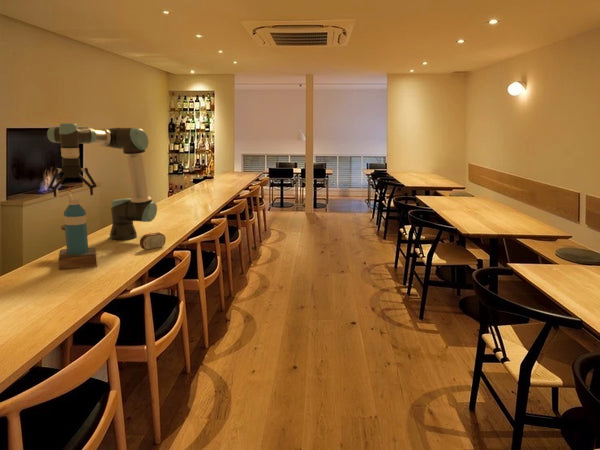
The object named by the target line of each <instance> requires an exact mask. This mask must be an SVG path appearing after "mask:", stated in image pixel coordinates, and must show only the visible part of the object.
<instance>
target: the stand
mask: <svg viewBox="0 0 600 450" xmlns="http://www.w3.org/2000/svg"><path fill="white" fill-rule="evenodd" d="M96 250H97V249H96V247H95V246H91V247H89V246H88V252H86V253H82V254H69V253H67V248H63V249H60V250H59V253H58V259H57V260H58V270H59V271H65V270H66V271H67V270H76V269H78V268H79V269H88V268H98V263H97V260H98V259H97V252H96Z"/></svg>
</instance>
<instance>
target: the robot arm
mask: <svg viewBox="0 0 600 450" xmlns="http://www.w3.org/2000/svg"><path fill="white" fill-rule="evenodd" d="M46 134H47V136H46V137H47V139H48V140H49V141H50V142H51V143H55V144H56V143H57V144H60V152H61V154H60V156H61V164H62V165H61V168H58V167H55V169H54V175H53V177H52V178H51V181H50V183H49V185H48V189H49V190H52V191H53V197H54V198H56V205H60V195H59V189H58V187H60V185H61V184H62V183H63V182H64V180H65V179H66V178H69V179H71V178H79V179H80V180H81V181H82V183H84V184H85V185H86V186H87V187H88V203H89V204H90V203H91V204H92V197H91V196H93V195H94V188H96V187H97V184H96V181H95V180H94V179H93V177H92V176H91V174H90V172H89V168H88V167H83V168H82V167H81V158H80V147H79V146H80V144H82V145H83V144H85V145H86V144H87V145H98V146H100V147H107V148H112V149H119V150H122V152H123V154H124V155H125V156H126V160H127V167H128V173H129V181H130V187H131V193H132V197H125V198H118V199H113V200H111V205H110V210H111V211H110V212H111V228H110V232H109V239H110V240H117V241H123V240H125V241H126V240H131V239H132V240H133V239H135V238H137V236H138V234H137V231H136V228H135V225H134V222H140V223H141V222H142V223H146V222H147V223H150V222H152V221H154V219H155V217H156V216H157V212H158V206H157V205H158V204H157V203H156V202H154V201H153V199H152V197H151V196H150V195H149V191H148V183H147V182H148V181H147V176H146V168H145V160H144V154H145V152H146V150H147V149H148V147H149V137H148V135H147V133H146V131H145V130H143V129H142V128H140V127H139V128H138V127H137V128H136V127H112V128H111V127H110V128H99V129H94V128H92V127H88V126H85V127H84V126H83V127H81V126H79V127H78V125H77V123H73V122H71V123H69V122H67V123H66V122H63V123H59V126H51V127H49V128H48V130H47V132H46ZM61 172H62V174H63V176H62V177H60V179H59V180H58V181H57V182H56V184H55V181H56V179H57V177H58V175H59V174H60V173H61ZM82 172H84V173H85V175H86V176H87V178H88V179H89V181H90V182H89V181H88V180H87V179H86V178H85V177H83V175H82ZM54 184H55V185H54Z"/></svg>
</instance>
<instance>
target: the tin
mask: <svg viewBox="0 0 600 450" xmlns="http://www.w3.org/2000/svg"><path fill="white" fill-rule="evenodd" d="M165 244H166V236H165V234H163V233H161V232H153V233H152V232H151V233H147V234H144V235H142V236H141V238H140V240H139V246H140V247H141V249H143V250H146V251H150V250H154V249H160V248H162V247H163V246H165Z"/></svg>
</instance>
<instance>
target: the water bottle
mask: <svg viewBox="0 0 600 450" xmlns="http://www.w3.org/2000/svg"><path fill="white" fill-rule="evenodd" d="M63 219H64V225H65V230H64V231H65V232H64V234H65V244H66V245H65V246H66V249H67V253H69V254H82V253H86V252H88V247H89V239H88V229H87V228H88V227H87V213H86V210H85V209H84V208H83V207H82V205H81V204H80V200H79V199H73V200H69V199H68V206H67V207H66V209H65V210H64V211H63Z"/></svg>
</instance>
